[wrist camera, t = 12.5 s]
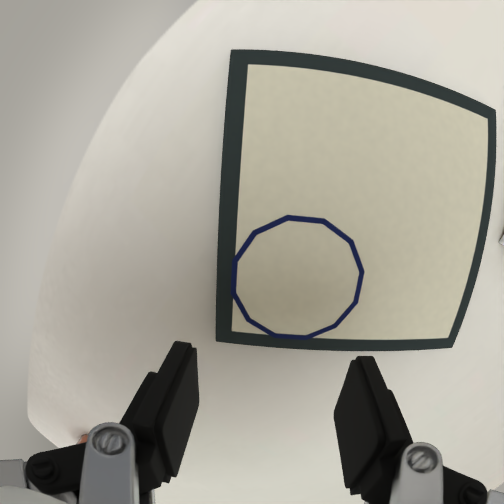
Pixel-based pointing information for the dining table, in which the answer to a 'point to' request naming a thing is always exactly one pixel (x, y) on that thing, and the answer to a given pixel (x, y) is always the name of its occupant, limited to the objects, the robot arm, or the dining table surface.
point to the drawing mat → (348, 205)
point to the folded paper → (502, 240)
